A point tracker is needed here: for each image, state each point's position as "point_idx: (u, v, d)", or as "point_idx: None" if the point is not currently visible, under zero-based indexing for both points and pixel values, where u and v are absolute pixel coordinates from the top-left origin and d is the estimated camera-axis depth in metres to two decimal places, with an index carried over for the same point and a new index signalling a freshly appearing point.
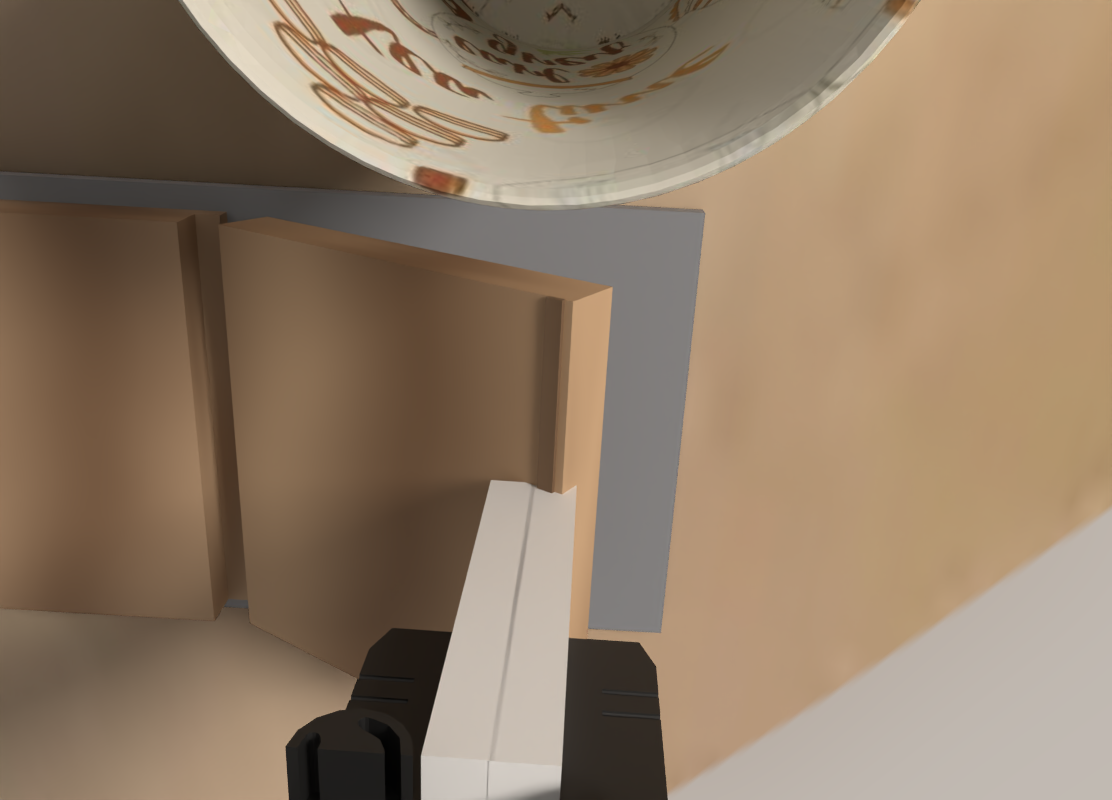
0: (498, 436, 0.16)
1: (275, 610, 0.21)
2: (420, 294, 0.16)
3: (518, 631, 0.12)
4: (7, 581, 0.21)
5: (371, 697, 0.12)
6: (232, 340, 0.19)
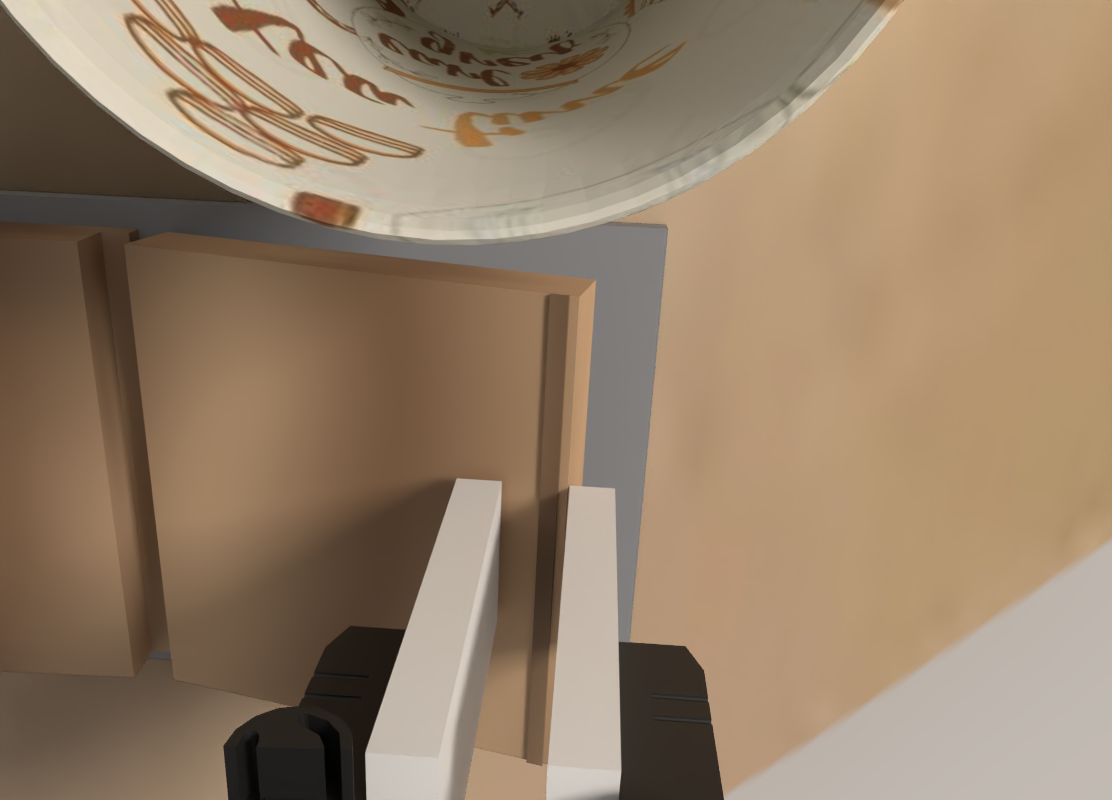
0: (494, 439, 0.16)
1: (209, 659, 0.19)
2: (397, 303, 0.15)
3: (568, 635, 0.12)
4: None
5: (324, 695, 0.12)
6: (146, 372, 0.17)
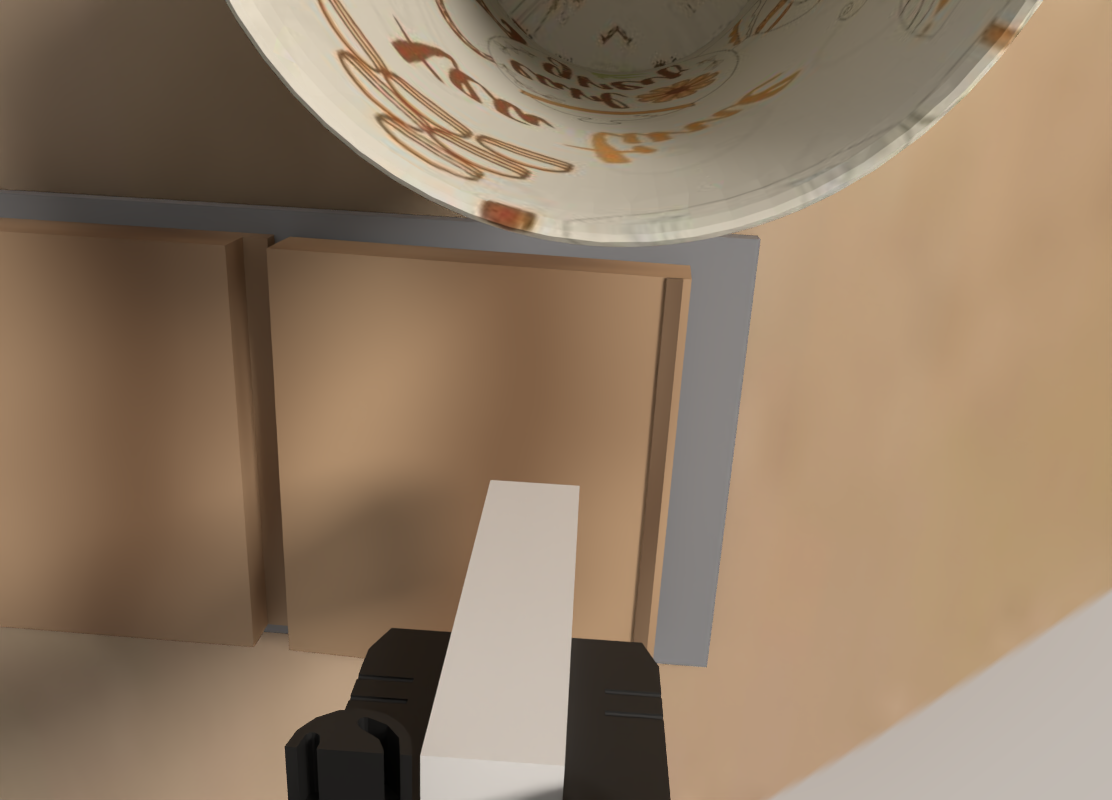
0: (611, 405, 0.18)
1: (327, 627, 0.21)
2: (528, 290, 0.18)
3: (521, 631, 0.12)
4: (48, 603, 0.21)
5: (370, 697, 0.12)
6: (280, 363, 0.19)
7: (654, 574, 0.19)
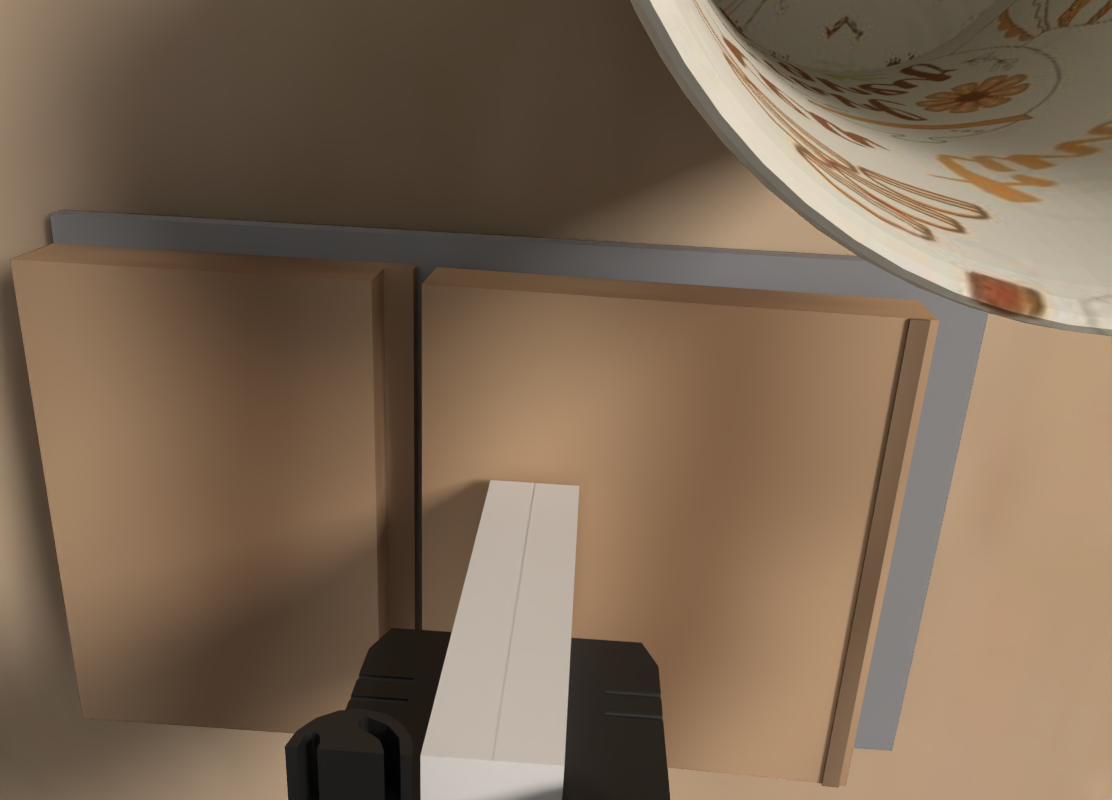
0: (827, 466, 0.16)
1: None
2: (739, 334, 0.15)
3: (521, 631, 0.12)
4: (140, 691, 0.18)
5: (371, 697, 0.12)
6: (431, 419, 0.16)
7: (863, 658, 0.17)
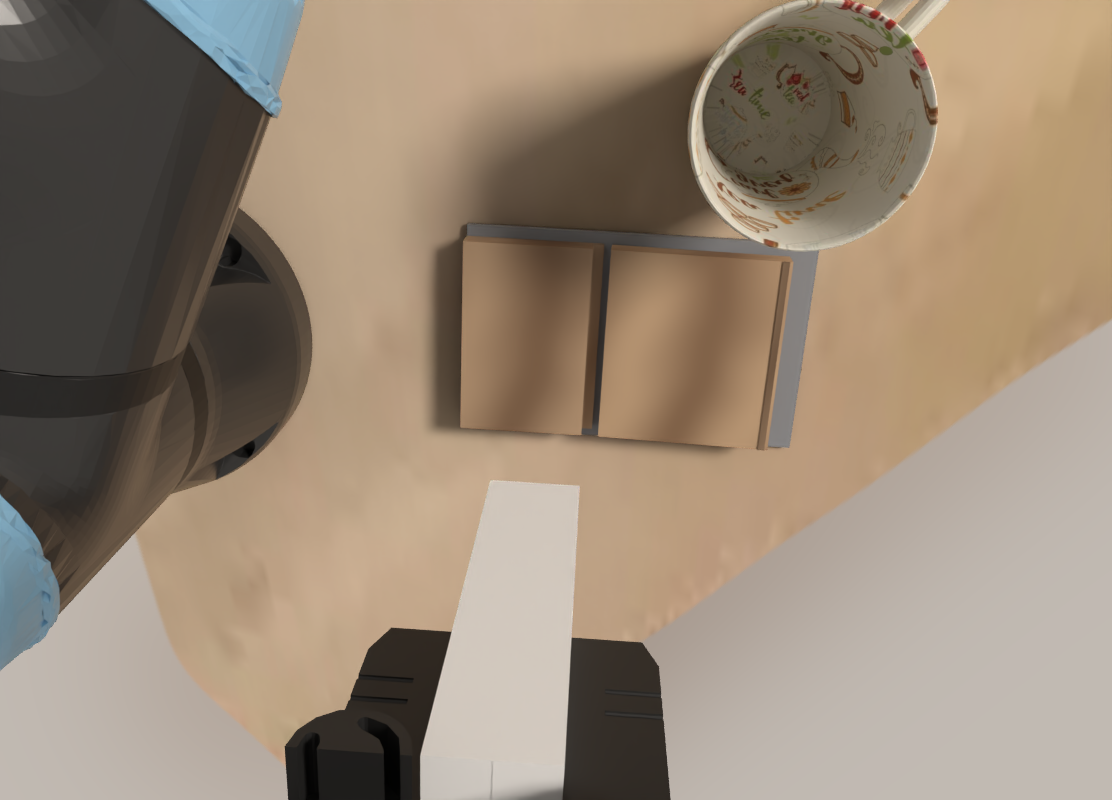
0: (756, 316, 0.43)
1: (617, 424, 0.45)
2: (724, 267, 0.42)
3: (521, 631, 0.12)
4: (485, 415, 0.45)
5: (371, 697, 0.12)
6: (611, 300, 0.43)
7: (772, 393, 0.44)
